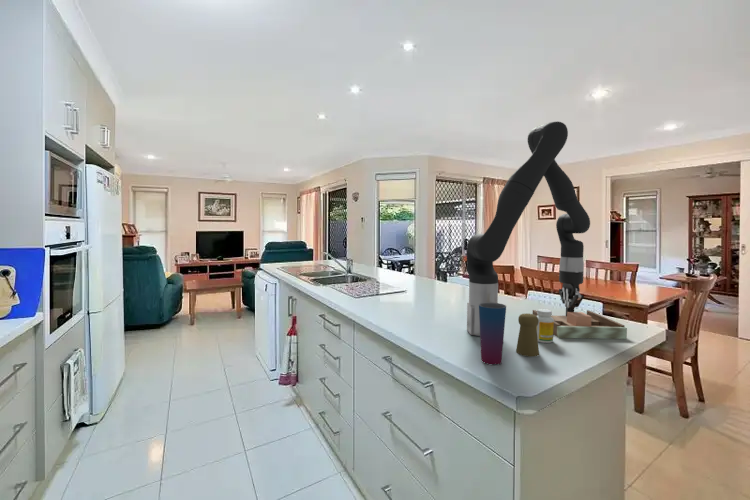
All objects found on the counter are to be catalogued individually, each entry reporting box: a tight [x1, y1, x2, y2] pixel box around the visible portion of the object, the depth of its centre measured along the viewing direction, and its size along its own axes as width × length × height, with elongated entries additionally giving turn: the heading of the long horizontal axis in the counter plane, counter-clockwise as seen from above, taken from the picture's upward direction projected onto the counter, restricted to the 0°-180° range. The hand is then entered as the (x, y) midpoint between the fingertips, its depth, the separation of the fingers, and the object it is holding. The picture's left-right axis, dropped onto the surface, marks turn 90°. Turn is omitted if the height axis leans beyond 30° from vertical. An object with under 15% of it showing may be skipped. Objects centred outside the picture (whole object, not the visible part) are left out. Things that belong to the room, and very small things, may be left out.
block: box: [567, 311, 592, 327], centre depth 119 cm, size 5×6×4 cm
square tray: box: [532, 309, 628, 340], centre depth 120 cm, size 21×21×4 cm
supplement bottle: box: [536, 308, 554, 344], centre depth 107 cm, size 5×5×10 cm
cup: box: [479, 302, 507, 365], centre depth 90 cm, size 7×7×15 cm
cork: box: [515, 313, 540, 358], centre depth 97 cm, size 6×6×11 cm
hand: (569, 317), depth 124 cm, fingers closed
